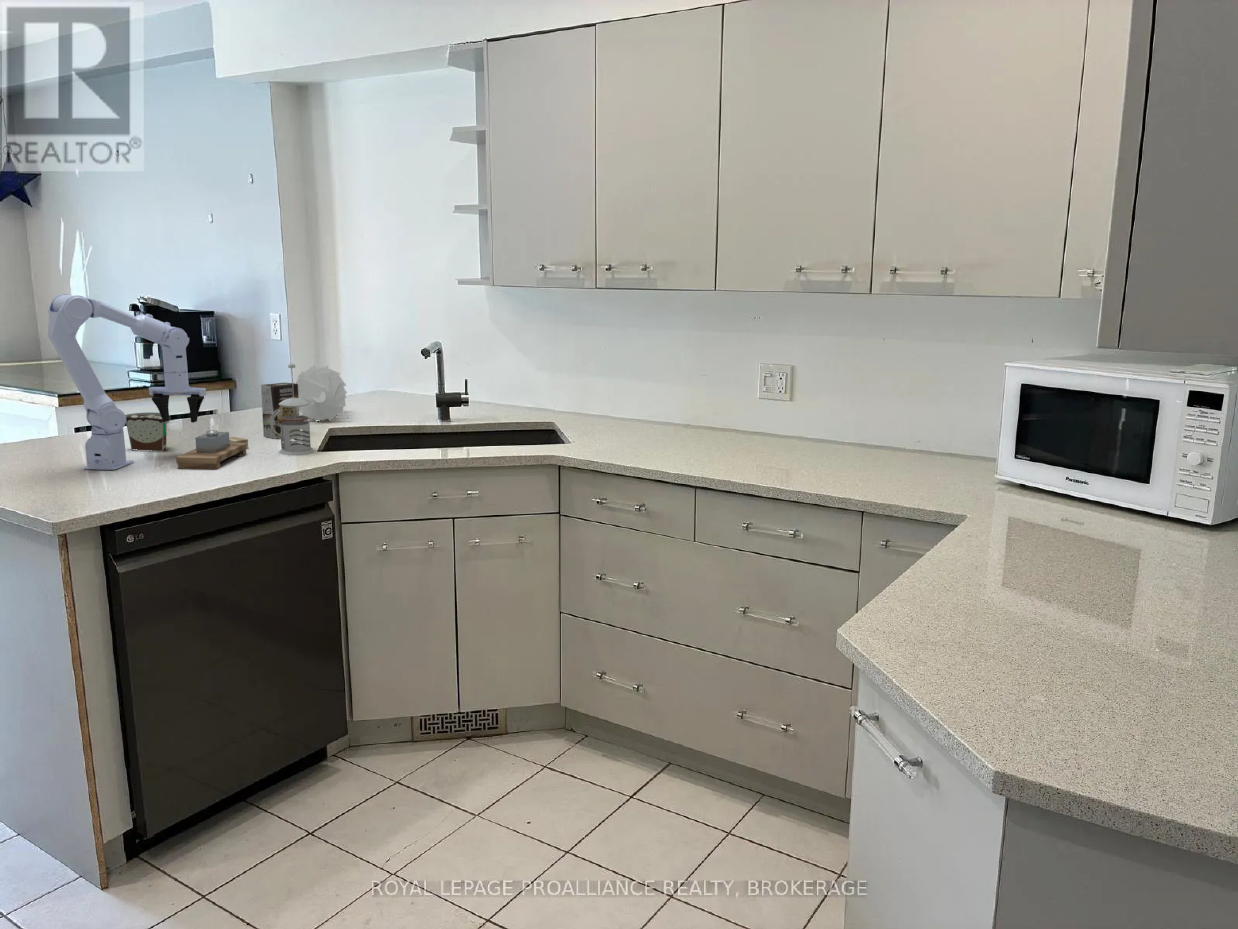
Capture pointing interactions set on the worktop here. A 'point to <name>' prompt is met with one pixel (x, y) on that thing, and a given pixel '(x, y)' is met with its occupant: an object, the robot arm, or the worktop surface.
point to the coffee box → (277, 406)
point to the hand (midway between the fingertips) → (180, 421)
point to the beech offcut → (238, 440)
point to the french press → (294, 428)
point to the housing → (212, 442)
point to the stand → (209, 457)
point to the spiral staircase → (321, 393)
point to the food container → (147, 431)
